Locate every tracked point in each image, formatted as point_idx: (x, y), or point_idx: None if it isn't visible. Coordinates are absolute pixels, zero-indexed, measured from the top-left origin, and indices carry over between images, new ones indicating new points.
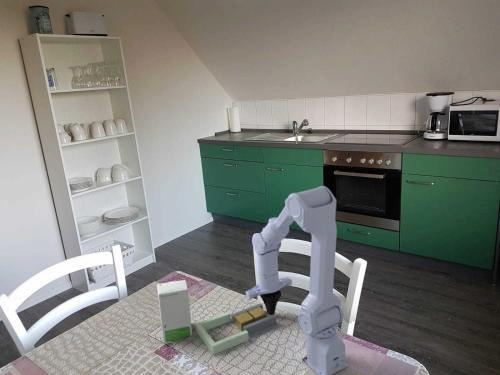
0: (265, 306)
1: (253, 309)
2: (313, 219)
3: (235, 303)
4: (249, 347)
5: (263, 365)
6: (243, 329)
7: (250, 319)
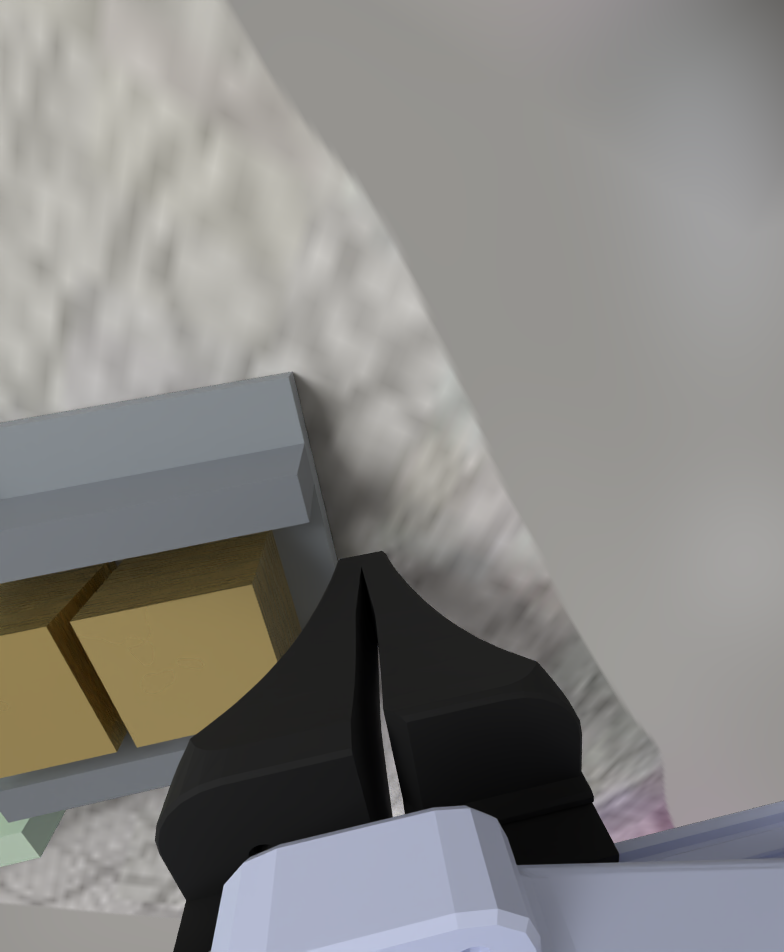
0: (324, 593)
1: (151, 607)
2: None
3: (23, 3)
4: None
5: (161, 893)
6: None
7: (77, 760)
